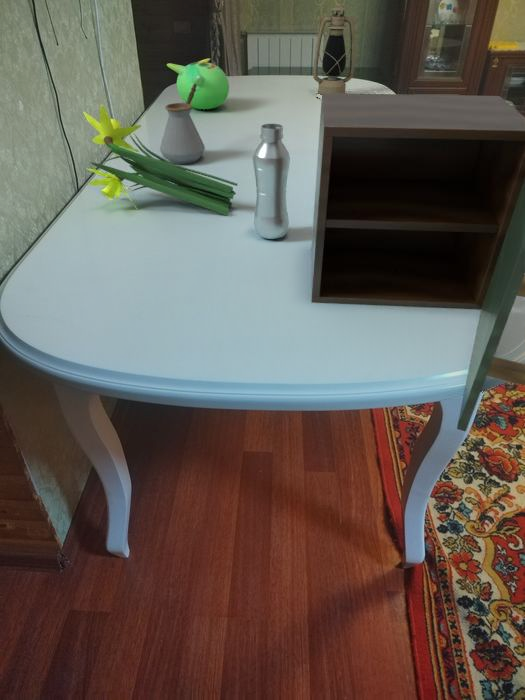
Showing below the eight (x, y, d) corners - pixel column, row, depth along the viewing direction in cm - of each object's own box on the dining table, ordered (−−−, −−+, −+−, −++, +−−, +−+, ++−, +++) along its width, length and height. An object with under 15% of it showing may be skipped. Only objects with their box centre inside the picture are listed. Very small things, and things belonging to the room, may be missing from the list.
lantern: (347, 92, 190) (356, -5, 172) (354, 99, 181) (365, -2, 162) (309, 93, 190) (314, -5, 171) (314, 100, 180) (320, -2, 161)
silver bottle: (282, 245, 95) (285, 133, 82) (248, 239, 97) (246, 129, 84) (292, 231, 99) (297, 123, 87) (260, 225, 101) (260, 119, 89)
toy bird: (239, 108, 172) (238, 59, 163) (203, 118, 162) (199, 66, 153) (202, 99, 181) (199, 53, 172) (166, 109, 171) (161, 59, 162)
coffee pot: (198, 168, 127) (193, 103, 117) (154, 165, 129) (146, 101, 119) (220, 142, 143) (217, 83, 134) (181, 140, 145) (175, 81, 135)
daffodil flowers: (216, 236, 100) (47, 176, 99) (224, 241, 114) (77, 189, 114) (244, 151, 97) (71, 89, 97) (248, 168, 112) (98, 114, 111)
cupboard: (482, 310, 78) (541, 131, 62) (311, 303, 80) (324, 126, 63) (456, 254, 92) (499, 95, 75) (311, 249, 94) (321, 92, 77)
